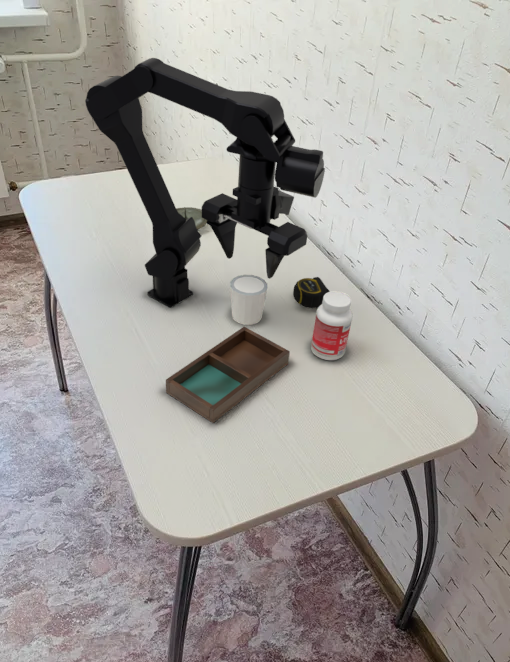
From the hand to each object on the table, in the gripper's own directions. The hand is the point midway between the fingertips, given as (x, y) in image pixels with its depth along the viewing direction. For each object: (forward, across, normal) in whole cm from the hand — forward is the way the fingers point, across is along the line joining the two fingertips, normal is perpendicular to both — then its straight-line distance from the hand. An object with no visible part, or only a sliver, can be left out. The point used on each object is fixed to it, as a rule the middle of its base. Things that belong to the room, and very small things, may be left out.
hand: (249, 267), depth 109 cm
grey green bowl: (+11, +32, -17) cm, 38 cm away
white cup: (+11, 0, 0) cm, 11 cm away
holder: (+10, -9, +16) cm, 21 cm away
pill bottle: (+11, -17, -2) cm, 20 cm away
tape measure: (+11, -6, -13) cm, 18 cm away
